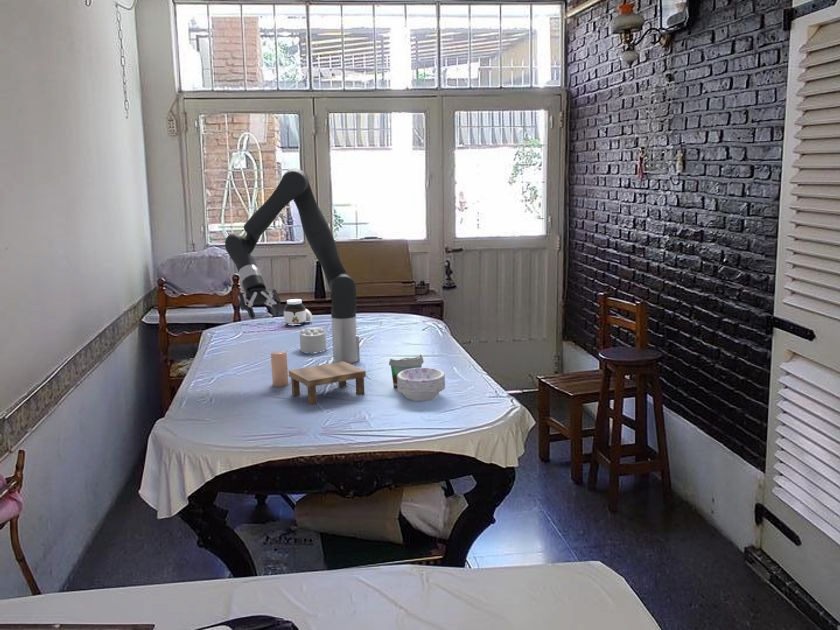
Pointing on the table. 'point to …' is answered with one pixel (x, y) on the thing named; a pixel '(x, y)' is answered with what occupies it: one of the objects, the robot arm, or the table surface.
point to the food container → (404, 366)
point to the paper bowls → (421, 383)
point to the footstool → (326, 378)
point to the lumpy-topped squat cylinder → (312, 340)
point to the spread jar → (296, 312)
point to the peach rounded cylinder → (279, 368)
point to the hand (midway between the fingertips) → (265, 316)
